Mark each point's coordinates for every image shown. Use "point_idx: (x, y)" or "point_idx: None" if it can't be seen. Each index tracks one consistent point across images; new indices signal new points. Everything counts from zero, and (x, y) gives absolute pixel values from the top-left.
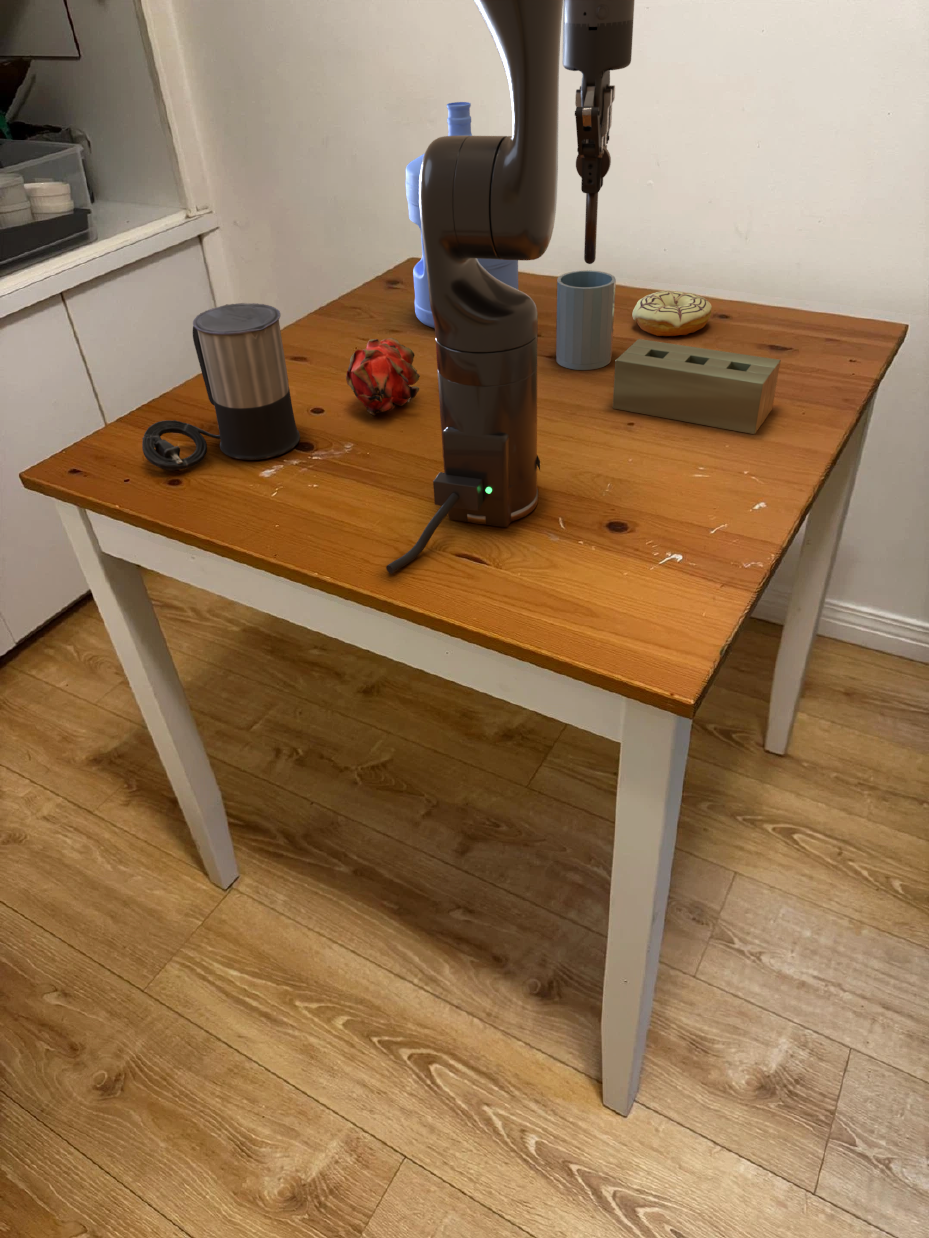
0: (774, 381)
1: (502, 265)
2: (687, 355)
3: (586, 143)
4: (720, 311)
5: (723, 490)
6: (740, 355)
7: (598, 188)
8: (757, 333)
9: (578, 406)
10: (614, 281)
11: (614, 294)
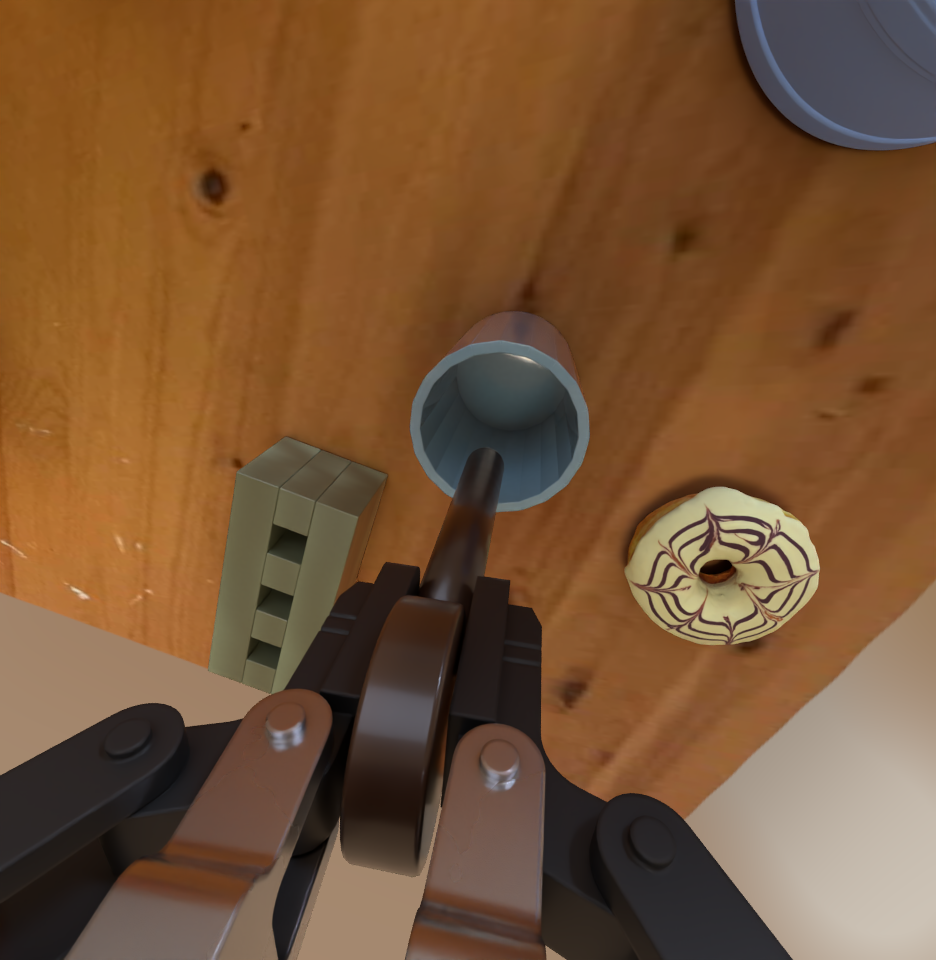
0: None
1: (889, 45)
2: (290, 591)
3: (103, 835)
4: (785, 643)
5: (96, 563)
6: None
7: None
8: (646, 678)
9: (282, 375)
10: None
11: None
